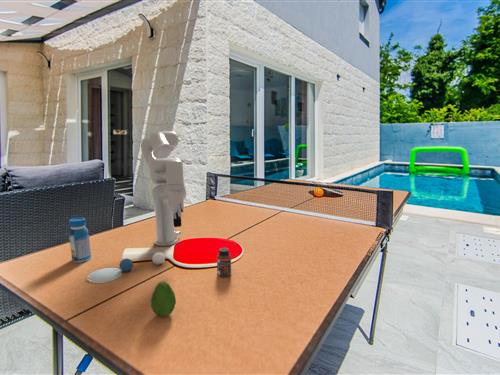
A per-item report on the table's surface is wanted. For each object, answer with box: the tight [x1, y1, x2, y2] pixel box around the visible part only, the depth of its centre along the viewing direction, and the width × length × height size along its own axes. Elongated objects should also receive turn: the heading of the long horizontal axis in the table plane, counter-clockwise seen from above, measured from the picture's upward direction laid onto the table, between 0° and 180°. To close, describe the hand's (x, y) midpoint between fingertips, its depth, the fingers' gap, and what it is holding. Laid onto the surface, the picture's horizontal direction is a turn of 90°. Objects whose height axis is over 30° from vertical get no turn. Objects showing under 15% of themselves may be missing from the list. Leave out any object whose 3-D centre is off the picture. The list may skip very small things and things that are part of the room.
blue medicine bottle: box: [68, 216, 92, 263], centre depth 151 cm, size 8×8×20 cm
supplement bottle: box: [216, 247, 232, 278], centre depth 135 cm, size 6×6×11 cm
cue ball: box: [152, 252, 166, 266], centre depth 147 cm, size 6×6×6 cm
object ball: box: [119, 258, 134, 273], centre depth 140 cm, size 6×6×6 cm
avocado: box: [150, 281, 177, 318], centre depth 107 cm, size 8×8×12 cm
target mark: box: [85, 267, 123, 284], centre depth 137 cm, size 14×14×1 cm
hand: (177, 226), depth 148 cm, fingers closed
